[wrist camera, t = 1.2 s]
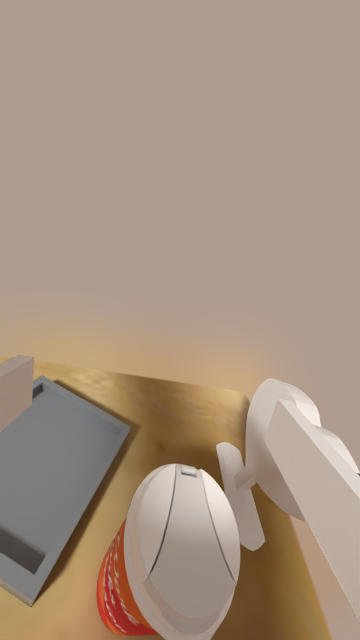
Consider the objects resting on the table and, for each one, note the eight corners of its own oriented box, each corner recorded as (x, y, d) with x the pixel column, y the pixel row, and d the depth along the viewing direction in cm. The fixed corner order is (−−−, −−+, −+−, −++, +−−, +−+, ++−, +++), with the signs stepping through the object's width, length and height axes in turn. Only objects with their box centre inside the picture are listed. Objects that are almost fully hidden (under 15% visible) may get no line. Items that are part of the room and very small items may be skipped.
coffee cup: (100, 516, 22) (142, 445, 16) (168, 526, 24) (230, 465, 18) (63, 665, 15) (112, 647, 9) (164, 664, 17) (270, 648, 10)
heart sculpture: (272, 563, 25) (394, 506, 17) (238, 561, 24) (353, 499, 16) (236, 439, 39) (296, 375, 31) (213, 434, 38) (270, 367, 30)
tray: (-121, 505, 18) (-129, 493, 16) (40, 386, 32) (42, 375, 31) (31, 607, 16) (33, 601, 15) (126, 436, 31) (131, 427, 30)
